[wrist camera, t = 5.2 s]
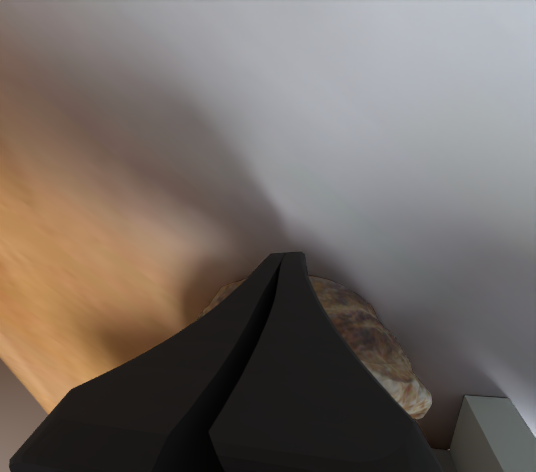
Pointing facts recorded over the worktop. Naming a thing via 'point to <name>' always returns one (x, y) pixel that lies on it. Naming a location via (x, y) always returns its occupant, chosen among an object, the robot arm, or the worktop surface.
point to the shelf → (489, 439)
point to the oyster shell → (364, 342)
